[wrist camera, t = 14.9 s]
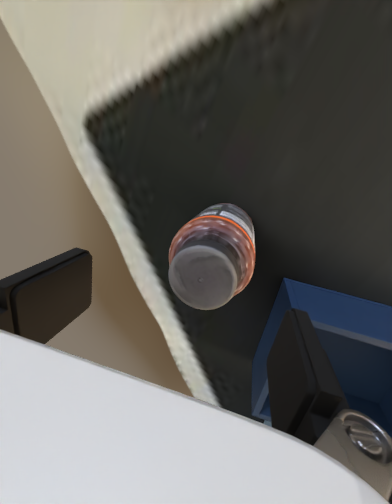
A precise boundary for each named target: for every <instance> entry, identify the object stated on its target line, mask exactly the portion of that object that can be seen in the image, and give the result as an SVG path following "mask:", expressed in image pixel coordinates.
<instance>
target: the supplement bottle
mask: <svg viewBox="0 0 392 504" xmlns="http://www.w3.org/2000/svg"><path fill="white" fill-rule="evenodd" d="M254 236H255V235H254V228H253V224H252V221H251V219H250V217H249V216H248V215H247V213H246V212H245V211H244V210H242V209H241V208H239V207H237V206H235V205H232V204H227V203H220V204H215V205H213V206H210V207H208V208H206V209H205V210H204V211H202V212H201V213H200V214H198V215H197V216H196V217H194V218H193V219H192V220H191V221H189V222H188V223H187V224H185V225H184V226H183V227H182V228H181V229H180V230H179V231H178V233H177V234H176V235H175V237H174V239H173V241H172V243H171V246H170V249H169V265H170V267H169V272H168V274H169V275H168V276H169V282H170V286H171V288H172V290H173V292H174V293H175V294H176V296H177V297H178V298H179V299H180V300H181V301H182V302H184V303H185V304H187V305H189V306H191V307H193V308H196V309H202V310H210V309H216V308H219V307H221V306H223V305H224V304H226V303H227V302H228V301H229V300H230V299H231V298H232V297H233V296H235V295H236V294H238V293H239V292H241V291H242V290H243V289H244V288H245V287H246V286H247V284H248V283H249V281H250V280H251V277H252V275H253V271H254V267H255V237H254Z"/></svg>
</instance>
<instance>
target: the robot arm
mask: <svg viewBox="0 0 392 504" xmlns="http://www.w3.org/2000/svg"><path fill="white" fill-rule="evenodd" d="M91 293H92V256H91V255H90V253H89V251H87V250H83V249H79V248H74V249H72V250H69V251H67V252H64V253H62V254H60V255H57V256H55V257H53V258H51V259H48V260H46V261H43V262H41V263H39V264H36V265H34V266H32V267H29V268H27V269H25V270H22V271H20V272H18V273H15V274H13V275H11V276H8V277H6V278H4V279H1V280H0V504H392V438H391V437H390V436H389V435H388V434H387V432H386V431H385V430H384V429H383V428H382V427H381V426H380V425H379V424H377V423H376V422H375V421H374V420H372V419H371V418H370V417H368V416H367V415H365V414H363V413H361V412H359V411H356V410H352V409H350V407H349V405H348V403H347V400H346V398H345V395H344V393H343V391H342V388H341V386H340V384H339V381H338V379H337V377H336V374H335V372H334V370H333V367H332V365H331V362H330V360H329V358H328V355H327V353H326V351H325V350H324V349H322V346H321V344H320V341H319V339H318V337H317V334H316V332H315V329H314V327H313V324H312V322H311V320H310V317H309V315H308V313H307V312H306V311H303V310H299V309H295V308H292V309H291V311H290V310H286V312H285V314H284V317H283V319H282V322H281V324H280V327H279V329H278V332H277V334H276V337H275V339H274V342H273V345H272V347H271V350H270V352H269V355H268V357H267V364H266V365H267V377H268V389H269V401H270V413H271V425H272V427H270V426H267V425H265V424H262V423H260V422H257V421H255V420H252V419H250V418H247V417H244V416H241V415H239V414H236V413H233V412H231V411H228V410H225V409H223V408H220V407H218V406H215V405H212V404H209V403H207V402H204V401H201V400H198V399H196V398H193V397H190V396H187V395H184V394H182V393H179V392H176V391H173V390H170V389H168V388H165V387H162V386H160V385H157V384H154V383H151V382H148V381H146V380H143V379H140V378H137V377H135V376H132V375H129V374H126V373H123V372H121V371H117V370H115V369H112V368H109V367H107V366H104V365H101V364H98V363H95V362H92V361H90V360H86V359H84V358H81V357H78V356H76V355H73V354H70V353H67V352H64V351H61V350H58V349H56V348H52V347H50V346H47V345H44V344H45V343H47V342H48V341H49V340H50V339H51V338H53V337H54V336H55V335H56V334H57V333H59V332H60V331H61V330H62V329H63V328H65V327H66V326H67V325H68V324H69V323H71V322H72V321H73V320H74V319H75V318H77V317H78V316H79V315H80V314H81V313H83V312H84V311H85V310H86V309H87V308H88V307H89V306H90V304H91Z"/></svg>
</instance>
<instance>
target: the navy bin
mask: <svg viewBox="0 0 392 504" xmlns="http://www.w3.org/2000/svg"><path fill="white" fill-rule="evenodd" d="M292 308H295V309H299V310H303V311H306V312H307V313H308V315H309V317H310V320H311V322H312V324H313V327H314V329H315V332H316V334H317V337H318V339H319V341H320V344H321V346H322V349H324V350H325V351H326V353H327V355H328V358H329V360H330V362H331V365H332V367H333V370H334V372H335V374H336V377H337V379H338V381H339V384H340V386H341V388H342V391H343V393H344V395H345V398H346V400H347V403H348V405H349V407H350V409H352V410H356V411H359V412H361V413H363V414H365V415H367V416H368V417H370V418H371V419H372V420H374V421H375V422H376V423H377V424H379V425H380V426H381V427H382V428H383V429H384V430H385V431H386V432H387V434H388V435H389V436H390V437H391V438H392V306H388V305H384V304H381V303H377V302H373V301H369V300H366V299H362V298H358V297H354V296H351V295H347V294H343V293H339V292H336V291H332V290H328V289H325V288H321V287H317V286H313V285H310V284H306V283H302V282H298V281H295V280H291V279H287V278H283V281H282V283H281V286H280V289H279V291H278V294H277V297H276V299H275V302H274V305H273V307H272V310H271V313H270V316H269V318H268V321H267V324H266V326H265V329H264V332H263V334H262V337H261V340H260V342H259V345H258V348H257V350H256V353H255V356H254V358H253V361H252V415H253V416H255V417H258V418H261V419H264V420H266V421H269V422H271V413H270V401H269V389H268V377H267V365H266V364H267V357H268V355H269V352H270V350H271V347H272V345H273V342H274V339H275V337H276V334H277V332H278V329H279V327H280V324H281V322H282V319H283V317H284V314H285V312H286V310H290V311H291V309H292Z"/></svg>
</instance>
